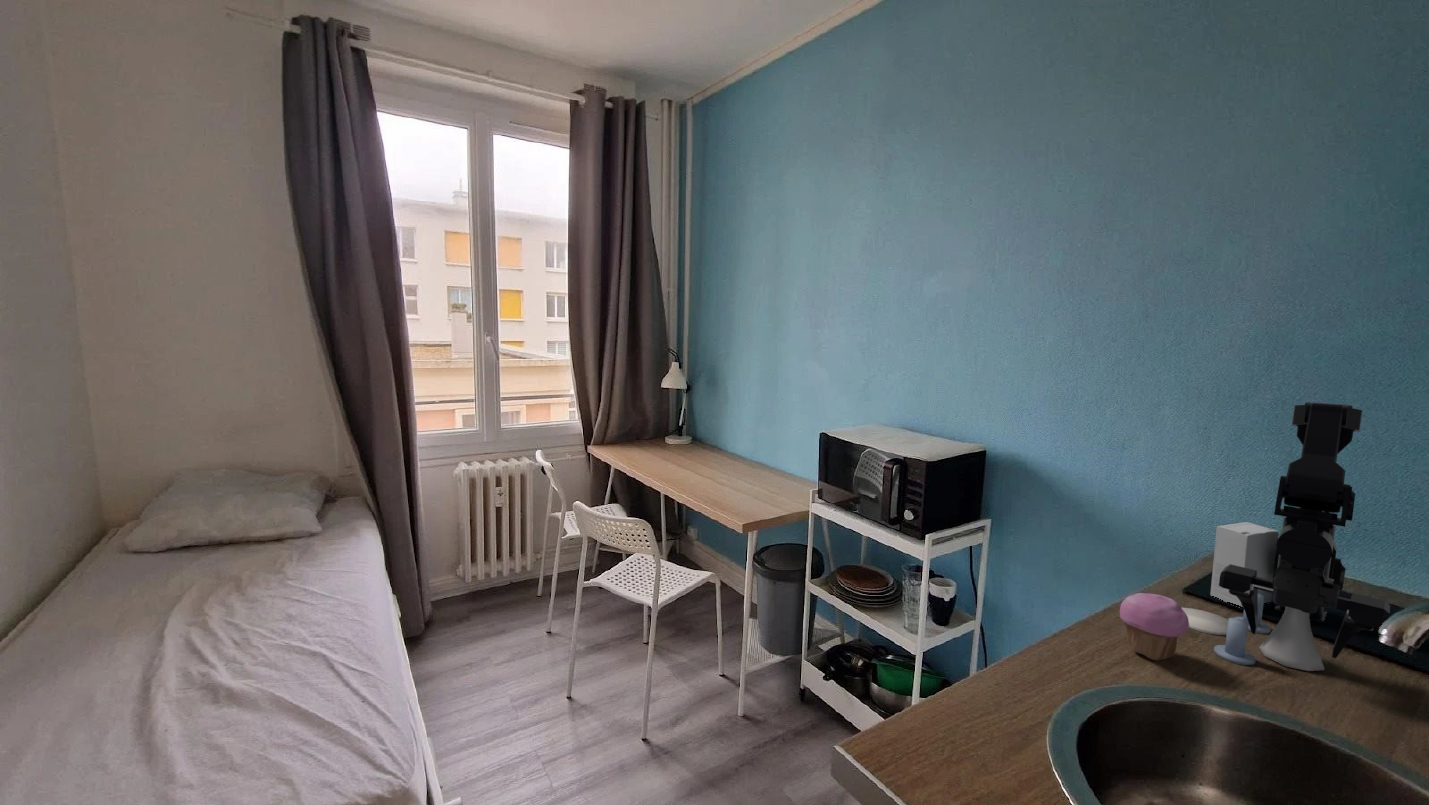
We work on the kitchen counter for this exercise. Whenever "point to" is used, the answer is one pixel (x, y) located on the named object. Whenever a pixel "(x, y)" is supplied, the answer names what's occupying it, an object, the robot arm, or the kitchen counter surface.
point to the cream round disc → (1206, 622)
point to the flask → (1293, 642)
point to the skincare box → (1244, 555)
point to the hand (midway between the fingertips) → (1292, 644)
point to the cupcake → (1153, 624)
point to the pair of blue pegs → (1241, 638)
